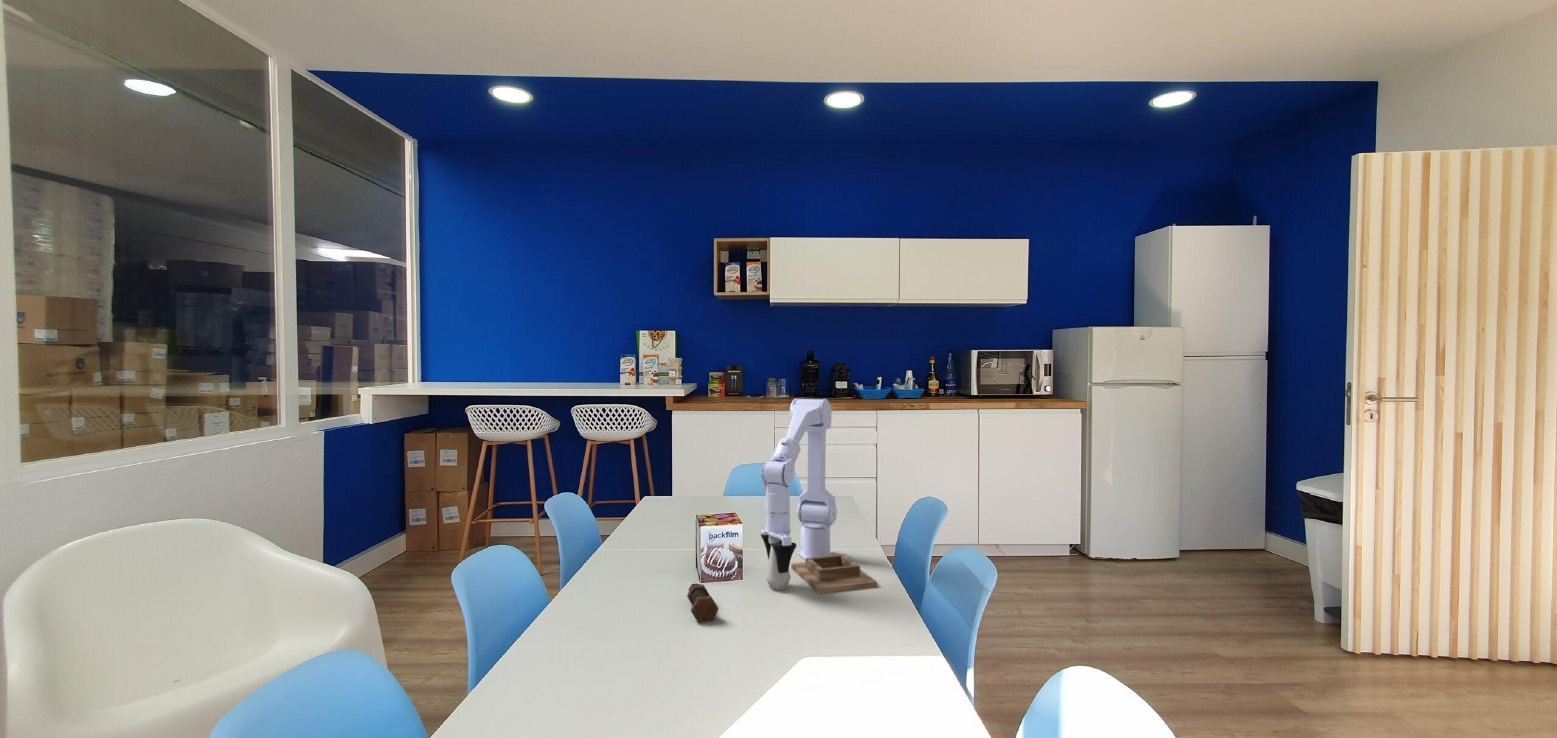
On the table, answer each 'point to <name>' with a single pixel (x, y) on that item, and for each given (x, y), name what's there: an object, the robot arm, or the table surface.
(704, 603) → the bolt
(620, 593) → the table surface
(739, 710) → the table surface
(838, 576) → the socket board
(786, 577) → the salt shaker
